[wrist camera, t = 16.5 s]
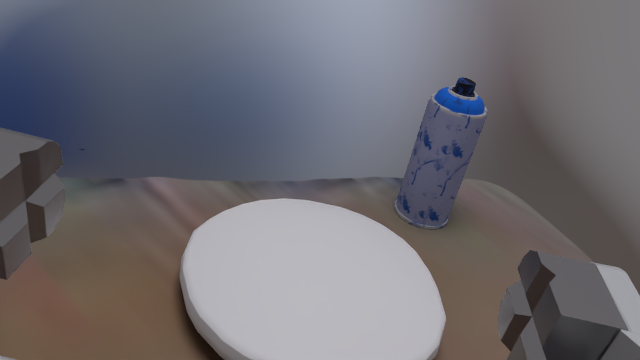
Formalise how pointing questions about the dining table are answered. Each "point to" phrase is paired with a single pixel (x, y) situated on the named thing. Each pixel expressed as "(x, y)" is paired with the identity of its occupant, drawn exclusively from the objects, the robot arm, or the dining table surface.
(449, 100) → the aerosol can
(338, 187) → the dining table surface
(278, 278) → the plate
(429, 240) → the dining table surface
